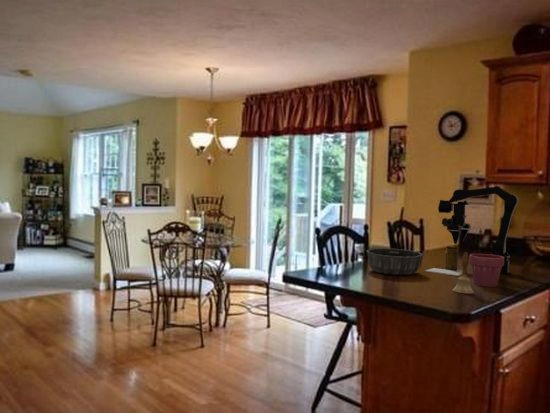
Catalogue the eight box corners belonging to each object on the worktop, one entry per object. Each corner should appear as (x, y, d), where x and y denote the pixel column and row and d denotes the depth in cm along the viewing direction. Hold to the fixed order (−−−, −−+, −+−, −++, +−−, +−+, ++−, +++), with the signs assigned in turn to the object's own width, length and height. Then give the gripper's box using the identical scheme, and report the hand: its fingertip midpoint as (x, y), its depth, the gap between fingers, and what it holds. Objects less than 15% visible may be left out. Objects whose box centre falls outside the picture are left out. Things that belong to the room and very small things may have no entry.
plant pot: (474, 280, 240) (476, 252, 239) (506, 285, 231) (508, 256, 231) (463, 284, 229) (465, 255, 228) (496, 289, 220) (498, 259, 219)
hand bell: (469, 289, 217) (471, 251, 217) (477, 294, 209) (479, 254, 208) (449, 289, 217) (451, 250, 216) (456, 293, 209) (459, 253, 208)
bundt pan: (423, 279, 238) (424, 257, 237) (364, 275, 243) (365, 253, 243) (419, 270, 264) (420, 250, 263) (366, 266, 269) (367, 247, 269)
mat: (465, 273, 258) (465, 272, 258) (457, 276, 249) (457, 274, 249) (433, 269, 267) (433, 267, 267) (425, 271, 259) (425, 270, 259)
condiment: (448, 268, 272) (450, 245, 271) (463, 271, 265) (465, 247, 265) (440, 269, 267) (442, 246, 266) (455, 272, 261) (457, 248, 260)
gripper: (450, 212, 287) (449, 240, 288) (437, 213, 273) (436, 243, 273) (471, 213, 281) (470, 242, 281) (458, 214, 266) (458, 245, 267)
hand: (458, 243), depth 276 cm, fingers open, 9 cm apart
